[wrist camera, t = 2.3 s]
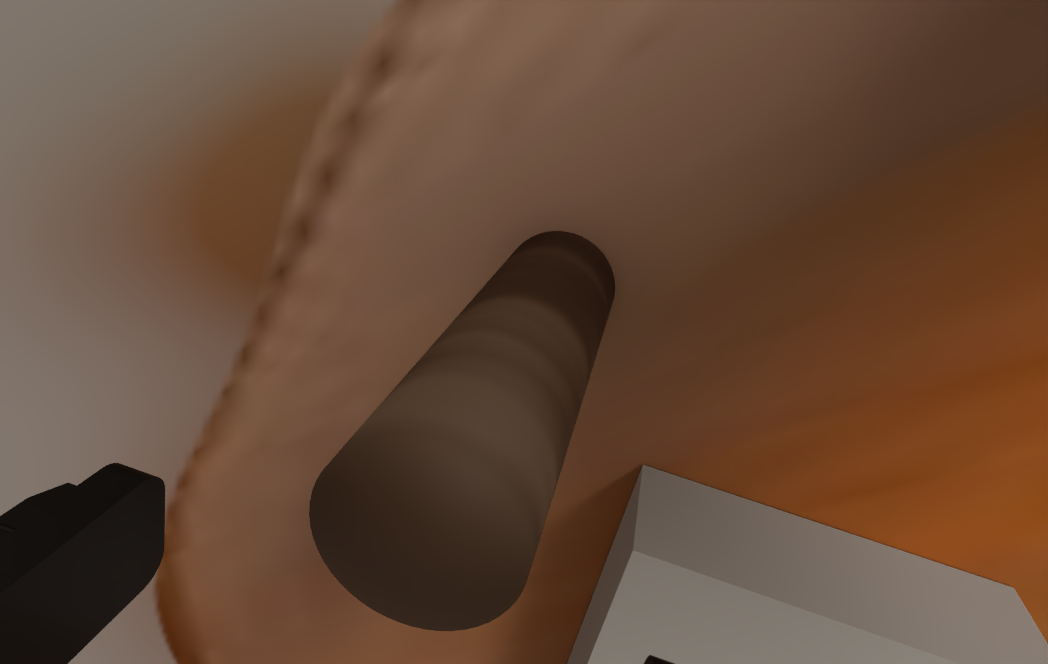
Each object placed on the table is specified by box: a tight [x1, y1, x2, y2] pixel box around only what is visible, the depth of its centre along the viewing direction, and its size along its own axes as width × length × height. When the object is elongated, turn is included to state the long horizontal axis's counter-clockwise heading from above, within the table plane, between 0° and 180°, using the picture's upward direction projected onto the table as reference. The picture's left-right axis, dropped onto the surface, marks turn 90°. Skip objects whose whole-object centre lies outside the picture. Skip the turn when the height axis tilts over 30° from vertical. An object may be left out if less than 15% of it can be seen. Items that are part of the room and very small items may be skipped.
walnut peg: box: [309, 231, 615, 631], centre depth 18 cm, size 4×4×14 cm
